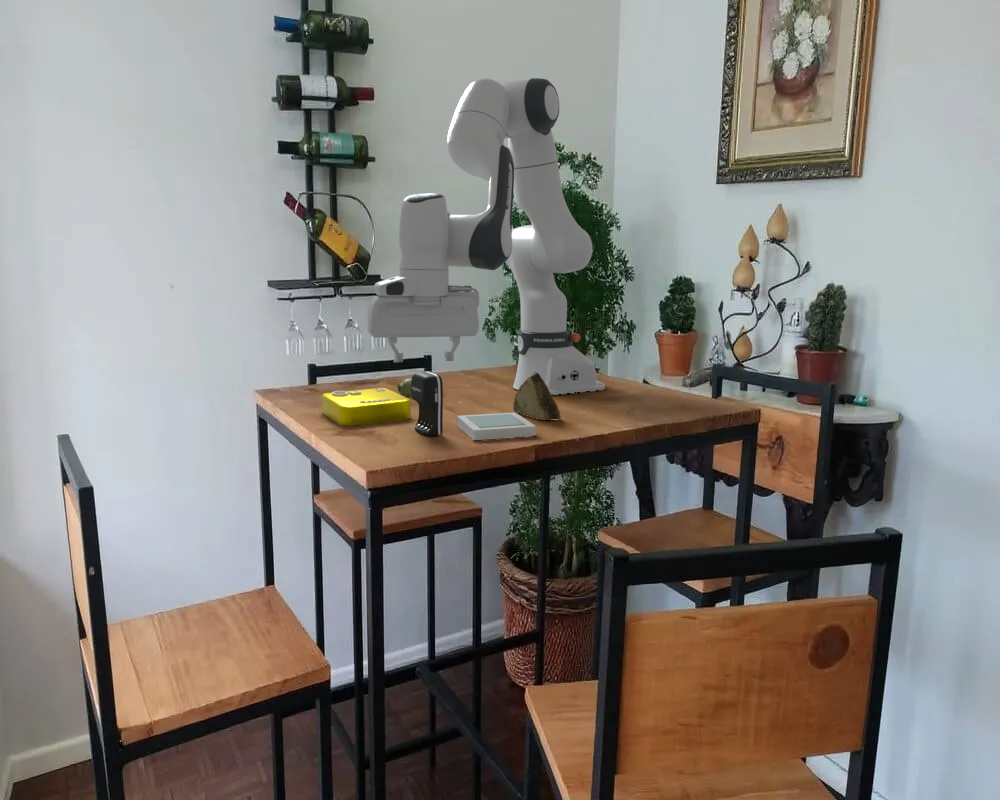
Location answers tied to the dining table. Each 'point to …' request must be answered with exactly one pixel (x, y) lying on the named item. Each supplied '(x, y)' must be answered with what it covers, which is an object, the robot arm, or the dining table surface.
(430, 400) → the battery charger
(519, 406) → the rock
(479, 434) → the plate
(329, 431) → the dining table surface
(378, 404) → the element tile
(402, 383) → the pear
